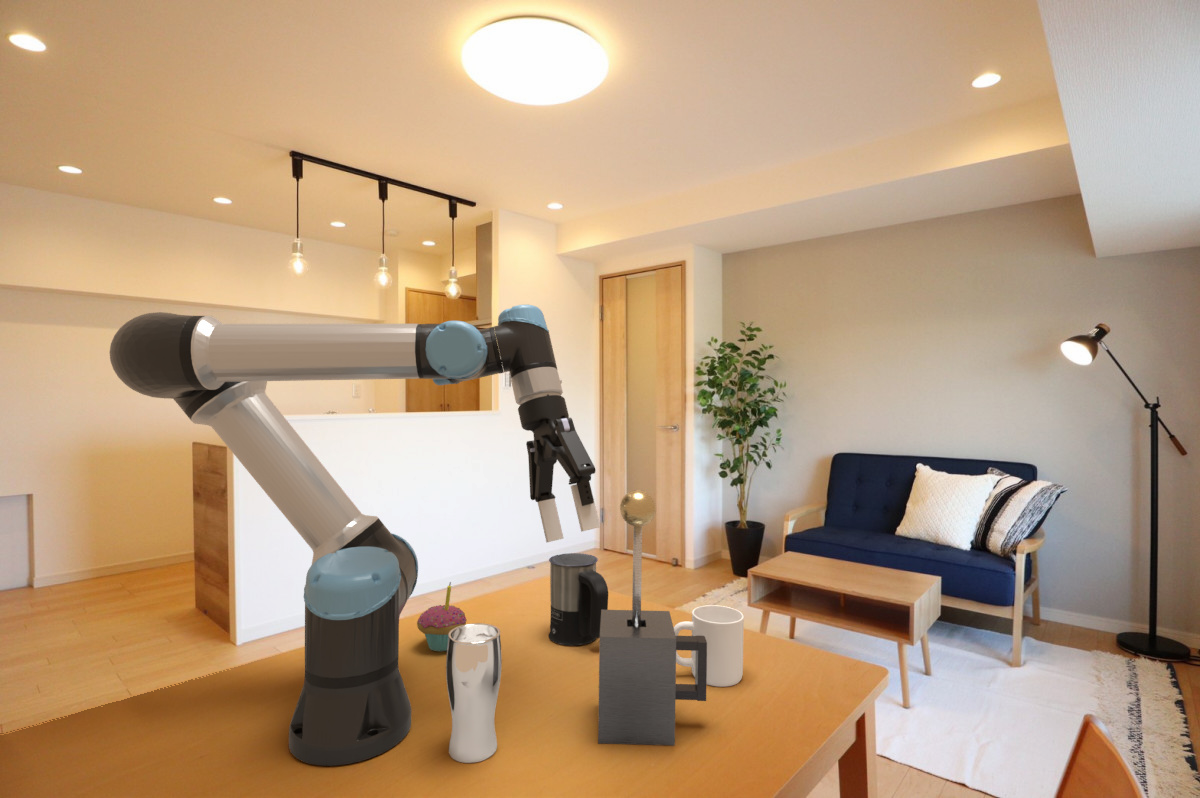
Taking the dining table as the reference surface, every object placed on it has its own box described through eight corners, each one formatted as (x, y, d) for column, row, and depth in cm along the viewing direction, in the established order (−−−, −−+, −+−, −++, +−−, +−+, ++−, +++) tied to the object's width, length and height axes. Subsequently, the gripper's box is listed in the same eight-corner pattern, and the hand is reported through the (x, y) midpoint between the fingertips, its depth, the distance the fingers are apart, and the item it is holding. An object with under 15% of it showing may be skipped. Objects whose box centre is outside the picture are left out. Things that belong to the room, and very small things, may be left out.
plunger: (607, 659, 80) (609, 494, 80) (607, 635, 88) (609, 485, 88) (667, 660, 80) (669, 495, 80) (662, 636, 88) (664, 486, 88)
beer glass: (473, 772, 73) (475, 648, 72) (433, 753, 76) (434, 635, 76) (511, 744, 78) (513, 629, 78) (472, 728, 82) (473, 618, 82)
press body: (598, 743, 79) (599, 636, 79) (600, 704, 89) (601, 609, 89) (710, 746, 79) (711, 639, 79) (699, 706, 89) (700, 611, 89)
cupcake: (475, 643, 110) (476, 578, 110) (440, 660, 103) (441, 590, 103) (442, 633, 115) (443, 570, 114) (406, 648, 107) (407, 581, 107)
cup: (749, 687, 95) (750, 623, 95) (674, 688, 94) (675, 624, 94) (734, 663, 103) (735, 604, 103) (664, 665, 102) (665, 605, 102)
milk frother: (537, 638, 113) (538, 559, 113) (587, 614, 126) (588, 543, 126) (600, 658, 105) (601, 573, 104) (646, 630, 117) (647, 554, 117)
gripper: (595, 370, 86) (632, 517, 81) (535, 420, 107) (562, 539, 102) (547, 375, 82) (583, 529, 78) (495, 425, 104) (521, 549, 99)
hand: (571, 535), depth 90 cm, fingers open, 13 cm apart
